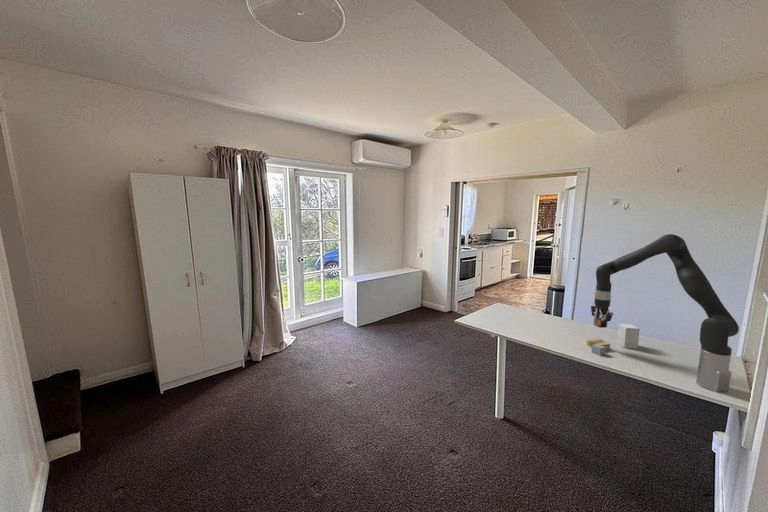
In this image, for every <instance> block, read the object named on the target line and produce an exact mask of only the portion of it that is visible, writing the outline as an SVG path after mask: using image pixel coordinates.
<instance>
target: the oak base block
mask: <svg viewBox="0 0 768 512" xmlns="http://www.w3.org/2000/svg"><path fill="white" fill-rule="evenodd" d="M595 344H599V345H601V346H604V347H606V348H605V351H610V350H611V343H610V342H607V341H606V340H603V339H601V338H598V337H597V338H591V339H587V340H586V347H589V348H591V349H592V345H595Z"/></svg>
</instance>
